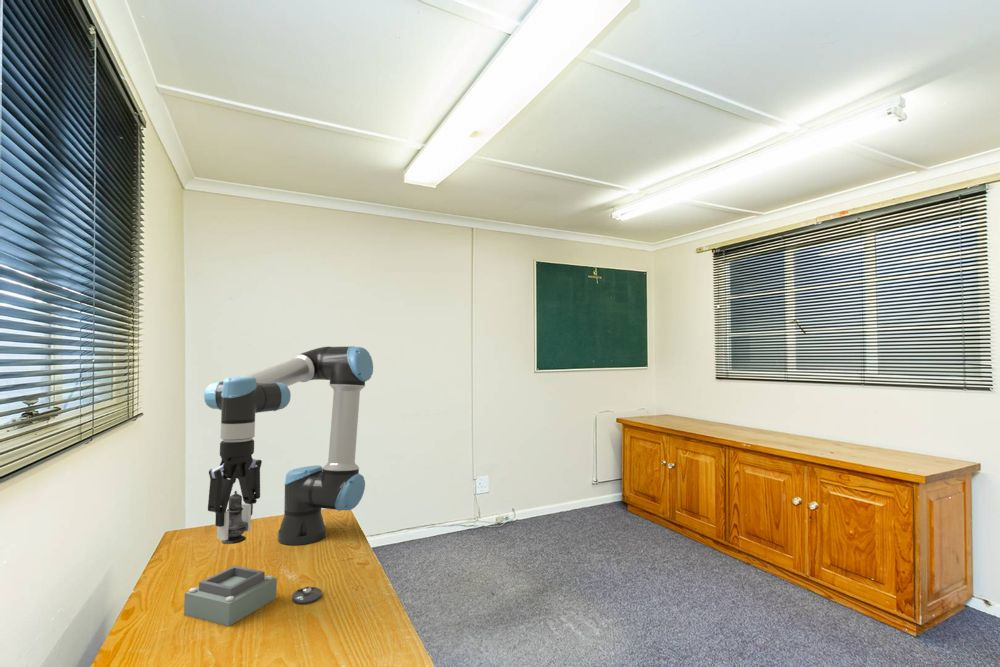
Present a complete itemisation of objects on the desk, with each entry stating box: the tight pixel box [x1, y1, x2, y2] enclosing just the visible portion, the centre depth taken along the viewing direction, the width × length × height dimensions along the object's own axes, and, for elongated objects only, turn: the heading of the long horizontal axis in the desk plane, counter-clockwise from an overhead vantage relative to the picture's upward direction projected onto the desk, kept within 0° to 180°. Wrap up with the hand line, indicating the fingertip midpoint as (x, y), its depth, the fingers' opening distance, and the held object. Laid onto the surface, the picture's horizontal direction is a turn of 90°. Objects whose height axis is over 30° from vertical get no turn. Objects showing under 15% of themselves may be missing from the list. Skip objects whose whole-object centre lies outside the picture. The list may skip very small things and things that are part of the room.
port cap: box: [291, 586, 323, 605], centre depth 125 cm, size 7×7×2 cm
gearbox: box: [183, 565, 278, 627], centre depth 121 cm, size 14×16×7 cm
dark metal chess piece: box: [221, 490, 248, 545], centre depth 121 cm, size 6×6×12 cm
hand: (234, 534), depth 121 cm, fingers closed on dark metal chess piece, 6 cm apart
